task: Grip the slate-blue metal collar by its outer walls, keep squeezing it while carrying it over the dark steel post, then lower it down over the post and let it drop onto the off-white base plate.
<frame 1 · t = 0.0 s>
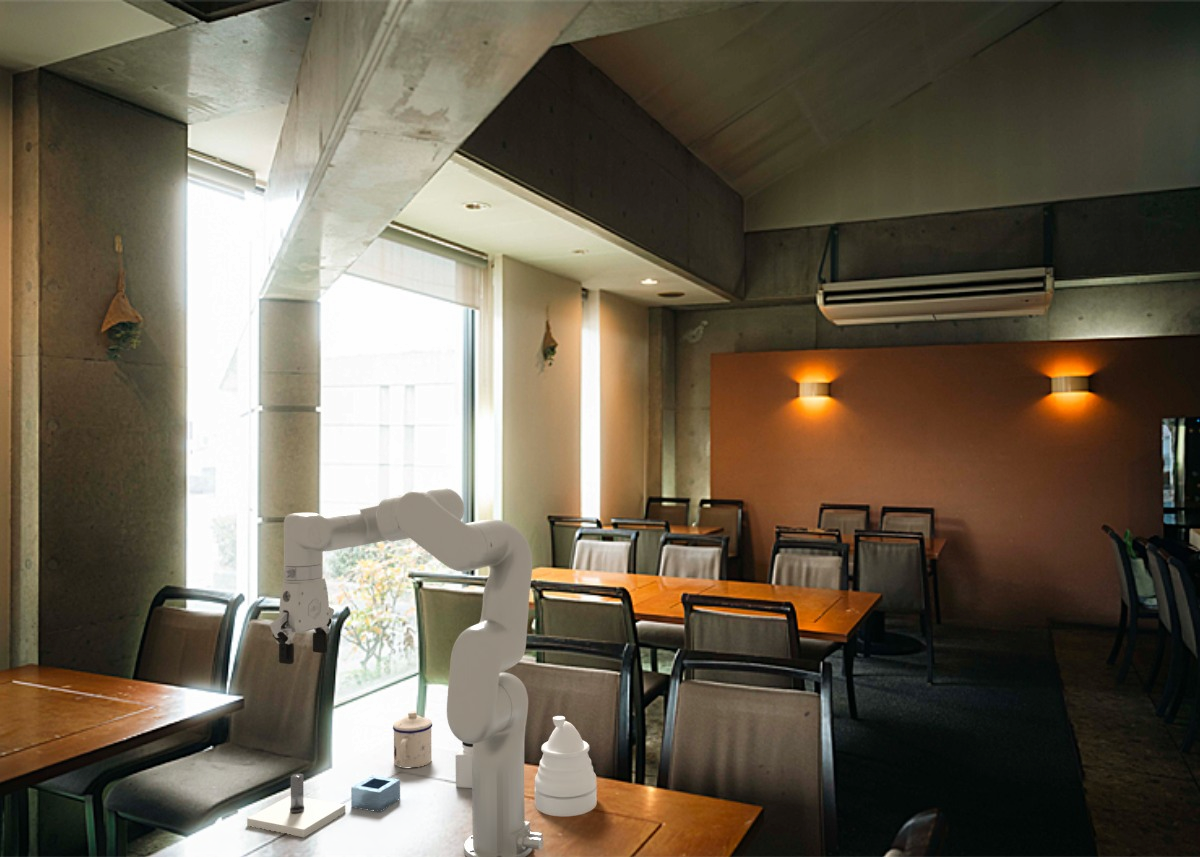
hand: (303, 657, 173), 31 cm above the table, tool pointing down, fingers open, 9 cm apart
medicine bottle: (476, 783, 187), on the table
base plate: (297, 819, 169), on the table
steel post: (297, 793, 169), on the base plate, point 5 cm above the table
honey pot: (565, 804, 175), on the table
collar: (376, 803, 176), on the table
teacup with lid: (410, 765, 198), on the table
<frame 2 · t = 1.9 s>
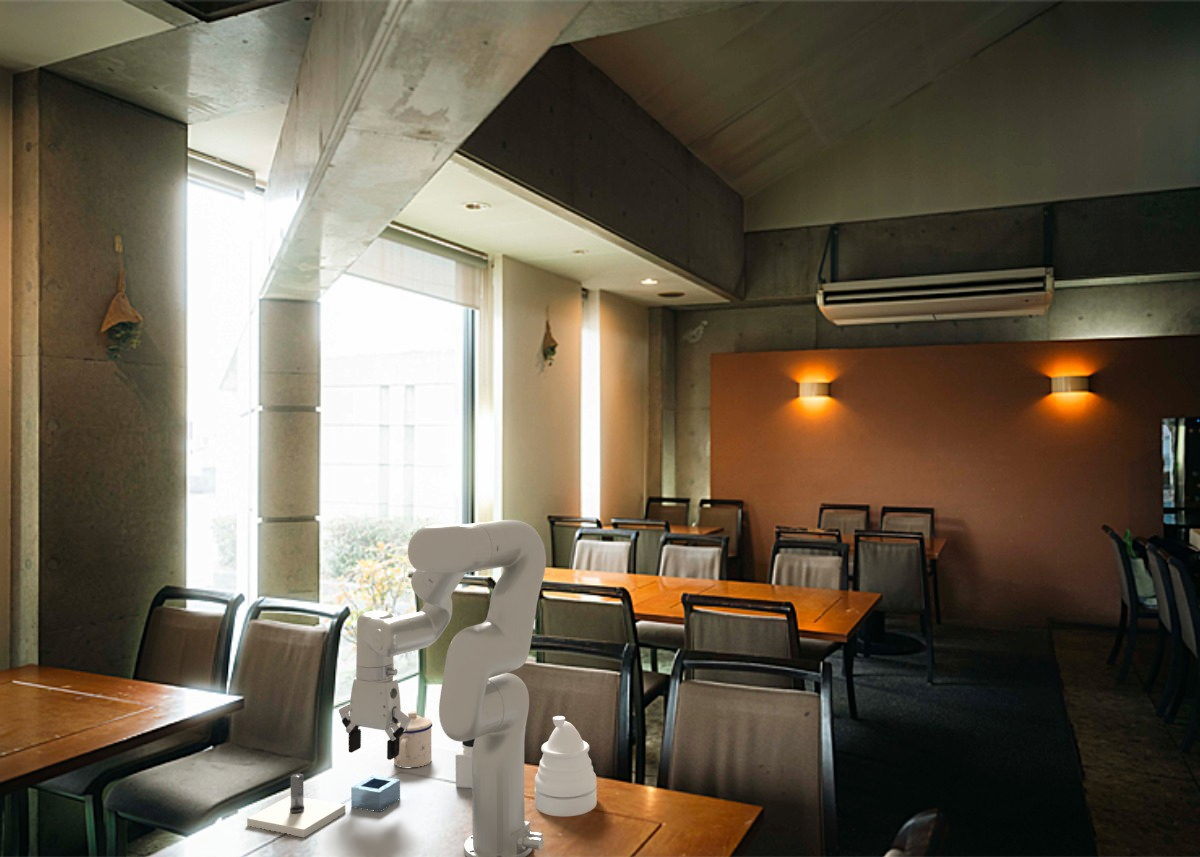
hand: (373, 753, 177), 10 cm above the table, tool pointing down, fingers open, 9 cm apart
nothing on the table moved.
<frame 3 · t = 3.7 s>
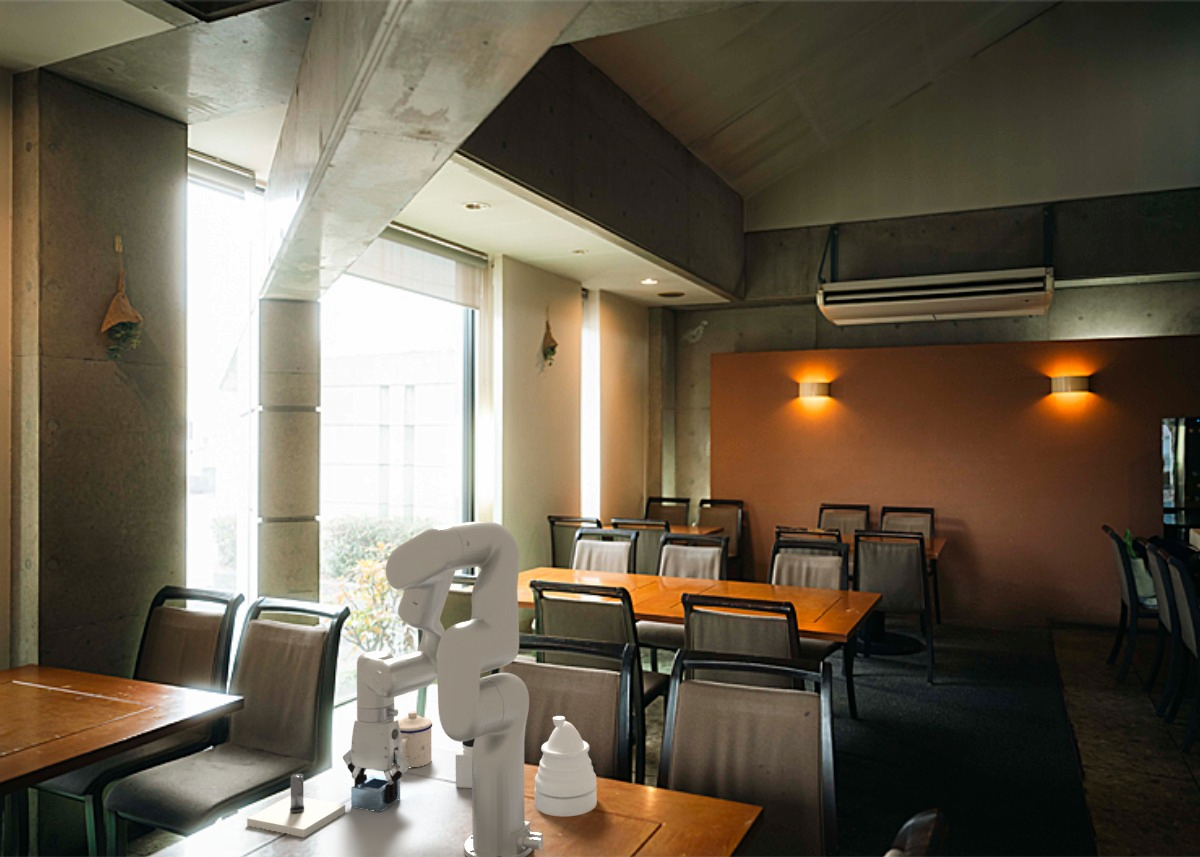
hand: (376, 798, 176), 1 cm above the table, tool pointing down, fingers closed on collar, 7 cm apart
collar: (376, 803, 176), on the table, touching gripper
everything else where it was.
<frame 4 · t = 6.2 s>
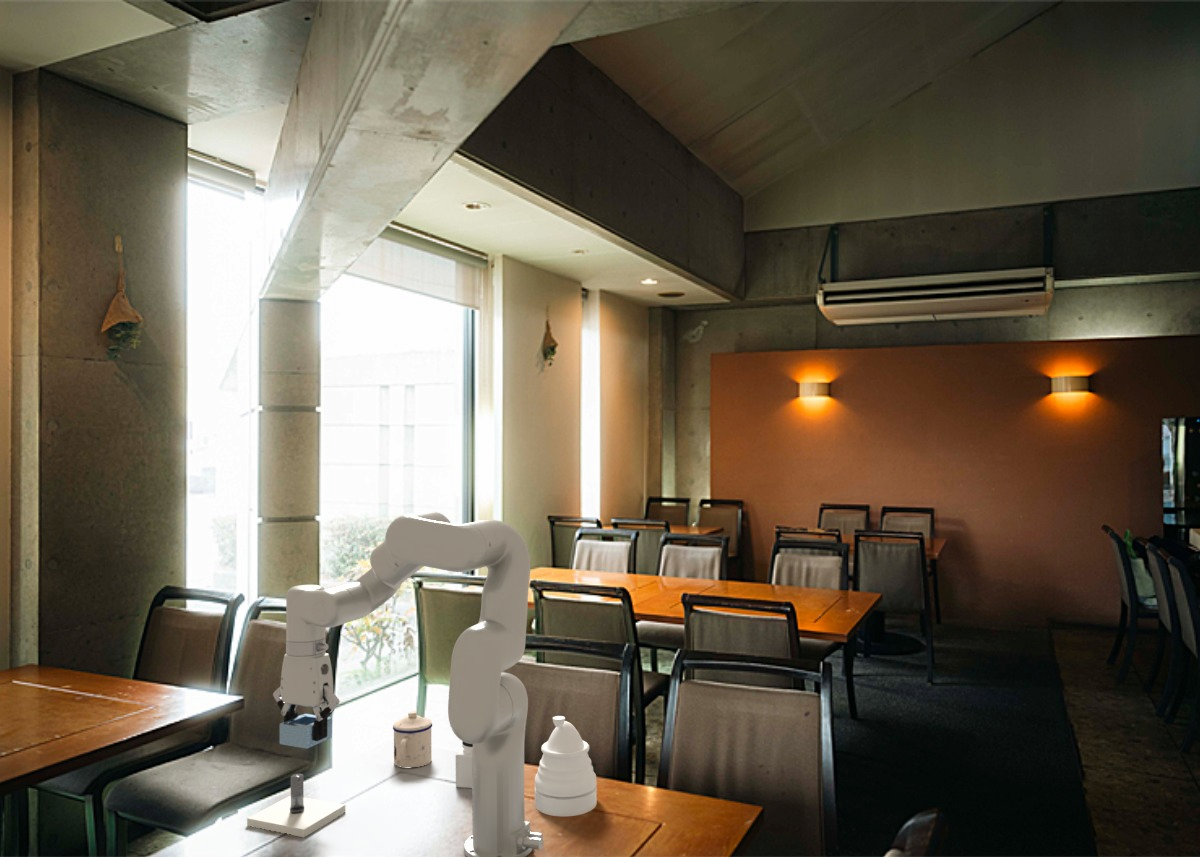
hand: (305, 735, 170), 16 cm above the table, tool pointing down, fingers closed on collar, 7 cm apart
collar: (305, 740, 170), point 15 cm above the table, touching gripper
everything else where it was.
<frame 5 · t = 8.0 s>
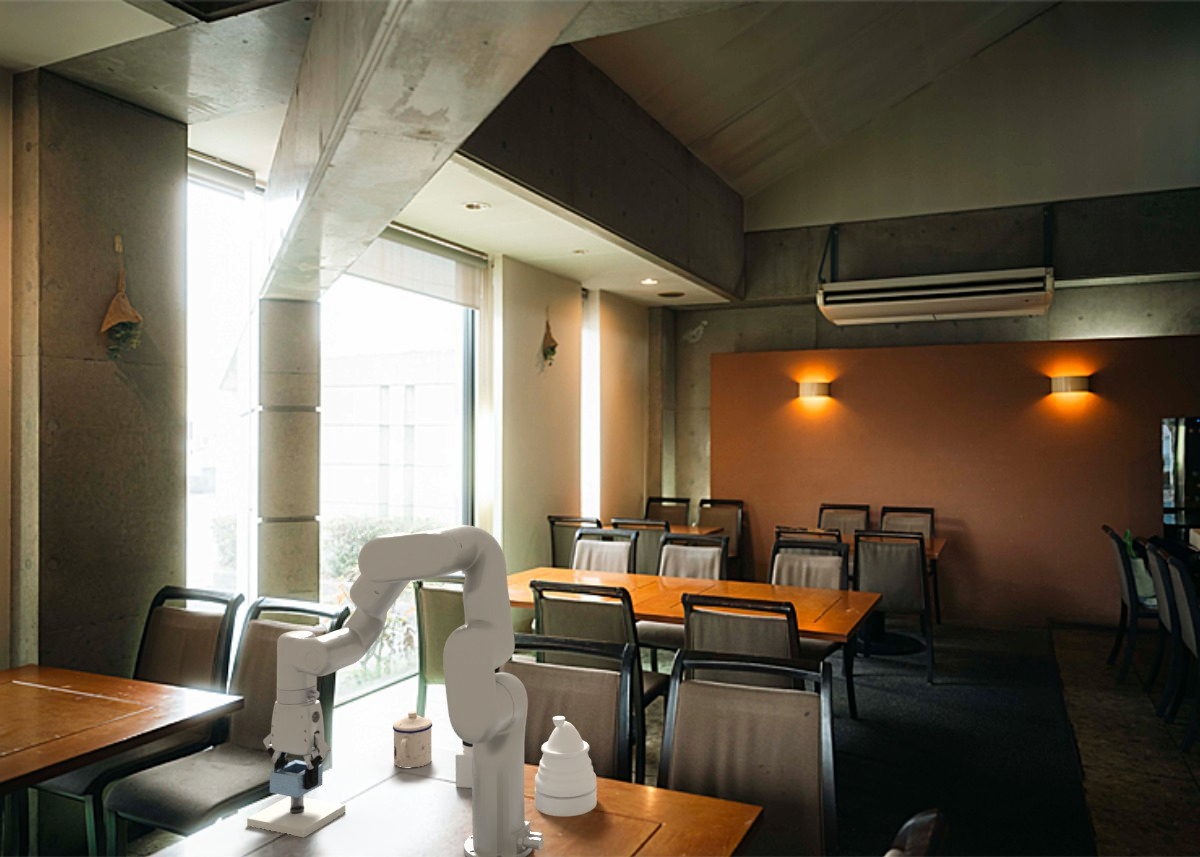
hand: (296, 783, 169), 7 cm above the table, tool pointing down, fingers closed on collar, 7 cm apart
collar: (296, 788, 169), point 6 cm above the table, touching gripper
everything else where it was.
when the fingers open (4 cm above the table, at t = 9.2 s): collar drops 1 cm, resting on base plate.
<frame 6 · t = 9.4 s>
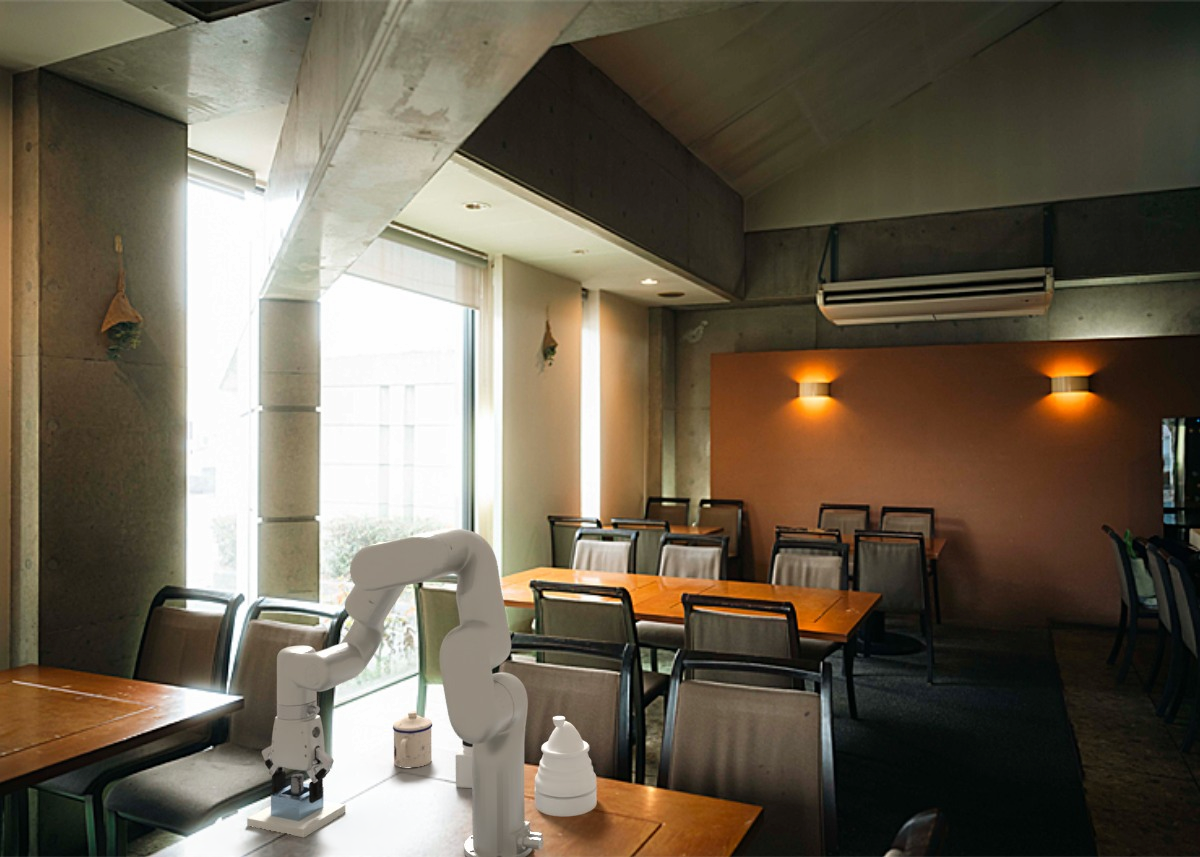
hand: (297, 796, 169), 4 cm above the table, tool pointing down, fingers open, 9 cm apart
collar: (297, 811, 169), point 1 cm above the table, touching base plate
everything else where it was.
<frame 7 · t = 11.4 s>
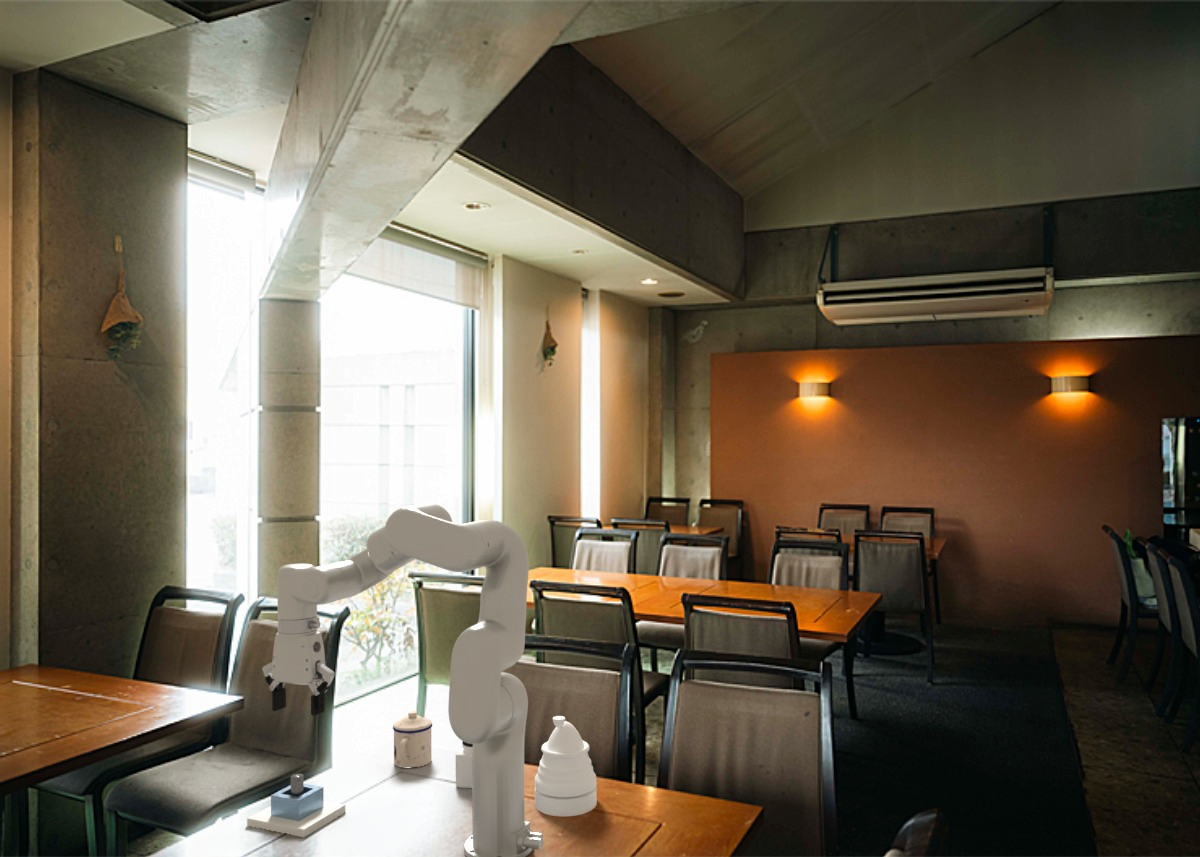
hand: (298, 711, 171), 21 cm above the table, tool pointing down, fingers open, 9 cm apart
nothing on the table moved.
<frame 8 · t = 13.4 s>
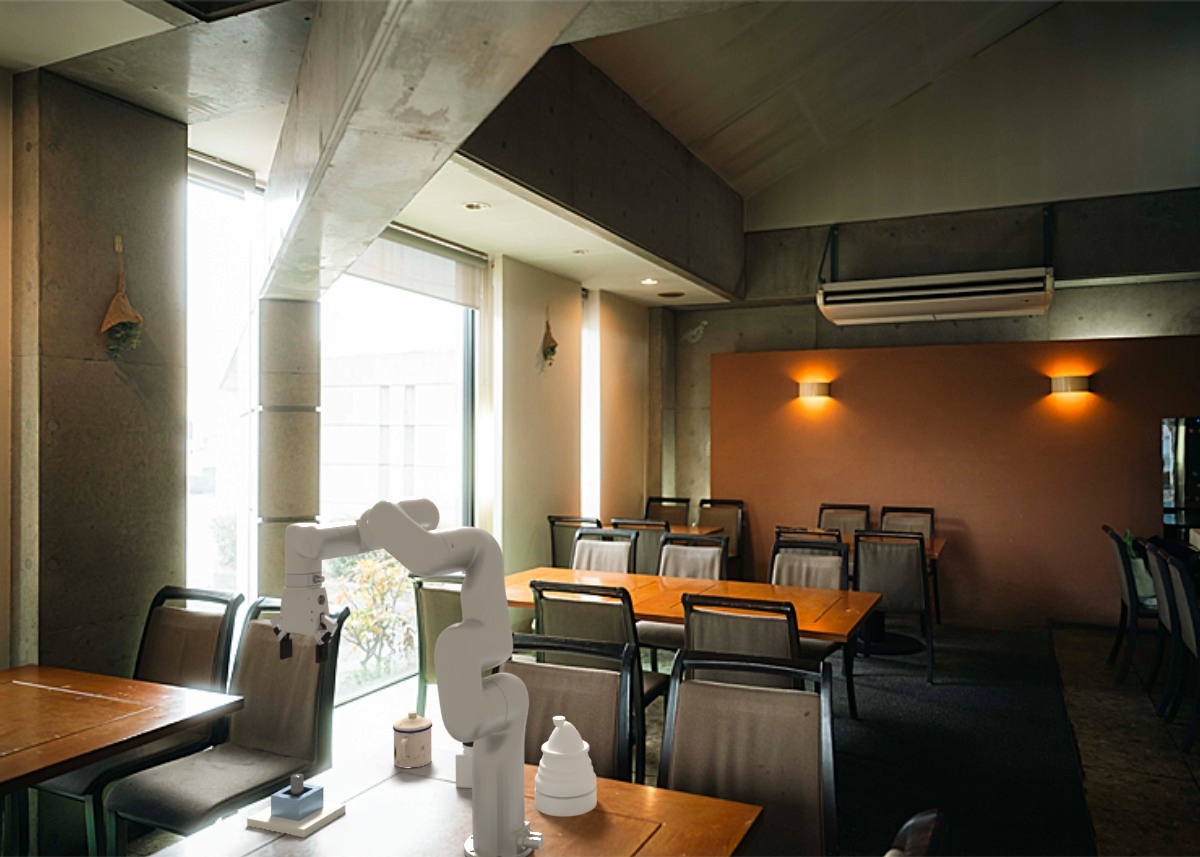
hand: (303, 660, 183), 28 cm above the table, tool pointing down, fingers open, 9 cm apart
nothing on the table moved.
at the end: collar 0.1 cm from the steel post (horizontally); collar point 1.5 cm above the table; the gripper is holding nothing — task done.
